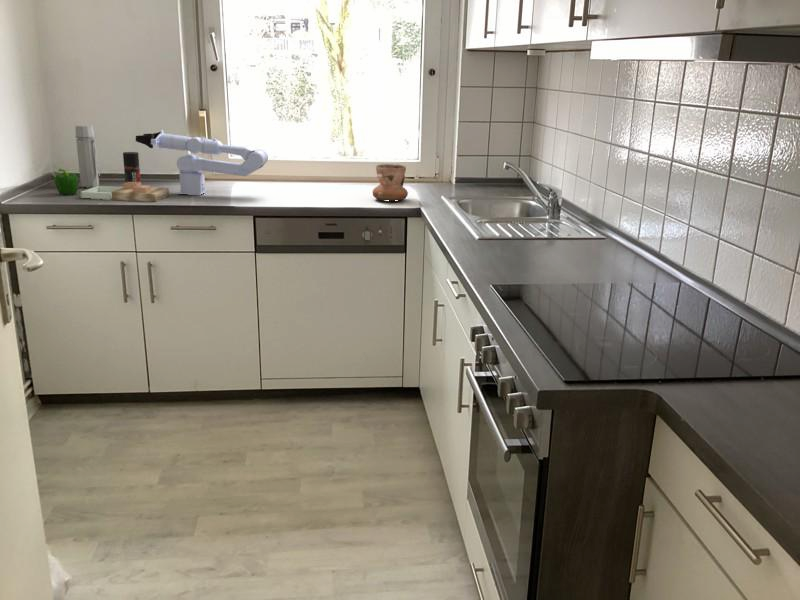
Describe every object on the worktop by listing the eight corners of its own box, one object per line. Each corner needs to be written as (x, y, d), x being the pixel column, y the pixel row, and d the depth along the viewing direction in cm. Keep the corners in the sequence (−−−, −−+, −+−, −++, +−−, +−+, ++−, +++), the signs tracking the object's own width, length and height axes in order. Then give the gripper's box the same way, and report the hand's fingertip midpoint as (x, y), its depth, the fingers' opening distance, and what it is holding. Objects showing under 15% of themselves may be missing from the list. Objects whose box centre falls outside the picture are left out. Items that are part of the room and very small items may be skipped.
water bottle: (76, 187, 294) (69, 125, 286) (89, 184, 301) (83, 124, 294) (94, 189, 292) (88, 127, 284) (107, 186, 299) (102, 125, 291)
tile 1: (141, 187, 283) (141, 182, 283) (136, 189, 279) (136, 184, 278) (129, 186, 284) (128, 181, 283) (124, 188, 279) (123, 183, 278)
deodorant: (131, 191, 291) (128, 154, 286) (123, 189, 294) (119, 152, 290) (144, 189, 296) (141, 153, 291) (135, 187, 299) (132, 151, 294)
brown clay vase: (391, 205, 282) (392, 169, 278) (363, 200, 290) (364, 165, 286) (417, 200, 296) (419, 165, 292) (389, 195, 304) (390, 162, 300)
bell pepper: (84, 193, 283) (81, 167, 280) (73, 196, 275) (70, 170, 272) (64, 192, 284) (61, 166, 281) (52, 195, 276) (49, 169, 273)
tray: (126, 193, 286) (125, 187, 285) (110, 199, 272) (109, 193, 271) (98, 192, 286) (97, 185, 286) (80, 198, 272) (79, 192, 271)
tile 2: (150, 190, 276) (150, 185, 276) (146, 193, 272) (145, 187, 271) (138, 190, 277) (137, 185, 276) (133, 192, 272) (132, 187, 271)
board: (168, 195, 285) (168, 188, 284) (155, 201, 272) (155, 194, 271) (127, 193, 285) (126, 186, 284) (112, 199, 272) (111, 191, 271)
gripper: (179, 130, 290) (146, 125, 290) (167, 133, 276) (132, 128, 276) (179, 147, 292) (146, 143, 292) (166, 151, 278) (132, 147, 278)
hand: (139, 137), depth 284 cm, fingers open, 7 cm apart
